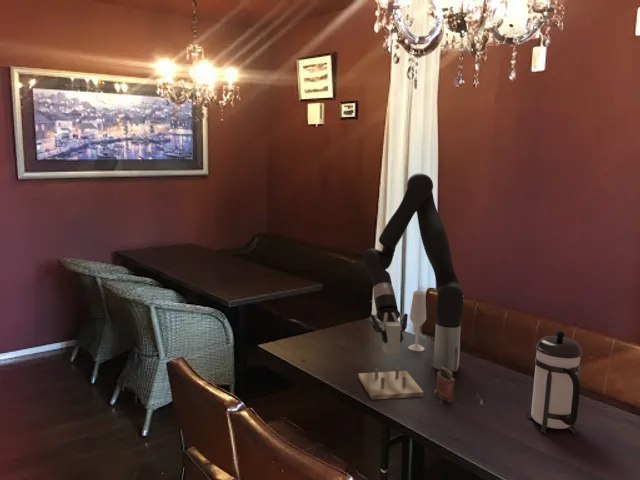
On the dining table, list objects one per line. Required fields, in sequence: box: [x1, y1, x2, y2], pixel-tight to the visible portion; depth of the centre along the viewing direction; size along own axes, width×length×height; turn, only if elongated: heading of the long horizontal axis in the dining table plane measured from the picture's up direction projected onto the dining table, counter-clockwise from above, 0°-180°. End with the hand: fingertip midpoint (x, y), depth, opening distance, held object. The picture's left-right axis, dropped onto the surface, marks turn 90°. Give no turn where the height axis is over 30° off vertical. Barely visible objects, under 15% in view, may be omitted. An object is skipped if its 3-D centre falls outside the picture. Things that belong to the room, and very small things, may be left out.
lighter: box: [435, 367, 456, 403], centre depth 189 cm, size 8×3×10 cm, turn 21°
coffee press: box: [526, 330, 583, 434], centre depth 168 cm, size 17×16×30 cm
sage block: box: [382, 322, 402, 355], centre depth 194 cm, size 4×4×10 cm
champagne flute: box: [407, 290, 427, 352], centre depth 232 cm, size 7×7×24 cm
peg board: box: [357, 366, 424, 400], centre depth 196 cm, size 18×18×5 cm
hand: (393, 342), depth 192 cm, fingers closed on sage block, 4 cm apart
